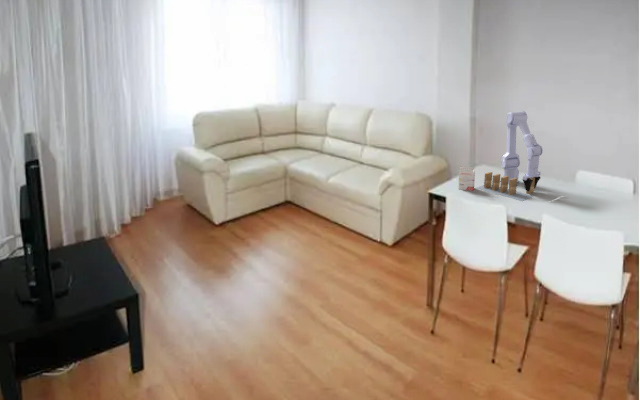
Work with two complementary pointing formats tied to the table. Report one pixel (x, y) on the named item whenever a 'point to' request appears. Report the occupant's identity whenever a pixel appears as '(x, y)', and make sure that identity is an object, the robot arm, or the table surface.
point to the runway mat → (516, 196)
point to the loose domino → (531, 186)
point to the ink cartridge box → (466, 178)
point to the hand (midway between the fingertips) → (530, 189)
